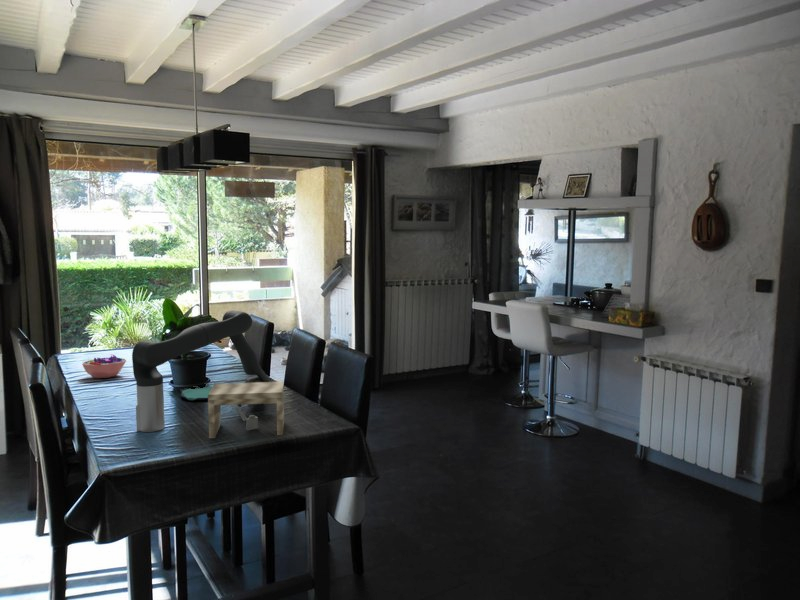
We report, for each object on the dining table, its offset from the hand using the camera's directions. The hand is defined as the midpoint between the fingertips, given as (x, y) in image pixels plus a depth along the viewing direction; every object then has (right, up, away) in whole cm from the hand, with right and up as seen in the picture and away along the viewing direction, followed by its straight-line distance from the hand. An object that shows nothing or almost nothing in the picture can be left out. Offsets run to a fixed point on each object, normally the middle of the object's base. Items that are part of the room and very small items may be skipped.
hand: (251, 404), depth 242 cm
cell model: (-91, +2, +69) cm, 114 cm away
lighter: (+2, -8, -11) cm, 14 cm away
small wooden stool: (+2, -8, -11) cm, 14 cm away
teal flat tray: (-32, -2, +40) cm, 51 cm away
